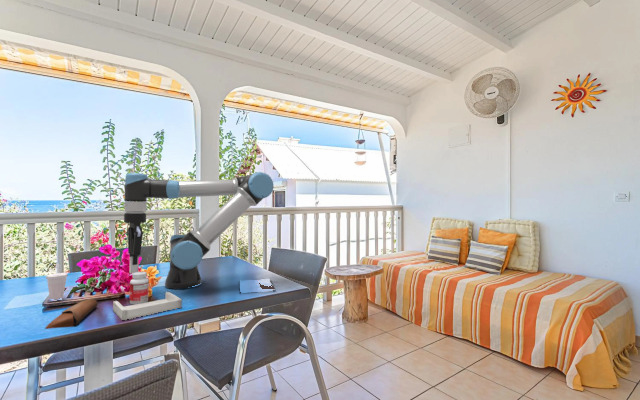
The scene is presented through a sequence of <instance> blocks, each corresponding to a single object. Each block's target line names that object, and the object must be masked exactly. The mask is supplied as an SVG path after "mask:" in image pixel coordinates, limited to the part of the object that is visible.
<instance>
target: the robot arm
mask: <svg viewBox="0 0 640 400" xmlns="http://www.w3.org/2000/svg"><path fill="white" fill-rule="evenodd" d="M124 180H125V181H124V203H123V204H122V207H124V212H125V213H124V215H123V222H124V223H126V224H129V226H128V227H127V229H126V232H127V249H128V250H127V251H128V252H127V253H128V256H129V272H128V273H129V274H133V273H135V272H139V258H140V257H139V256H141V253H142V252H141V251H142V241H143V235H144V231H142V230H143V228H142V227H141V225H142V224H141V223H143V224H144V223H146V222H147V213H146V212H147V211H148V210H147V201H148V200H147V199H148V198H149V199H163V200H165V199H166V200H167V199H169V200H170V199H171V200H172V199H178V198H180V199H181V198H199V197H200V198H201V197H216V196H217V197H218V196H219V197H221V196H222V197H223V196H232V197H231V198H229V199H228V200H227V201H226V202H225V203H223V205H221V207H219V209H217V211H215V212H214V213H213V214H212V215H211V216H210V217H209V218H207V220H205V222H203V223H202V224H201V225H200V226H199V227H198V228H196V230H189V231H188V232H187V233H185V234H173V235H171V236H170V240H169V243H170V249H169V270H168V273H167V276H166V278H165V283H164V287H165V288H166V287H167V289H169V288H173V289H172V290H180V289H179V288H187V289H189V288H188V287H192V286H195V285H198V284H200V283H201V284H202V278H201V274H200V271H199V268H198V267H199V264H200V263H201V262H202V260H203V257H204V256H206V255H207V253H208V252H209V251H211V245H212V244H213V243H214V242H215V241H216V240H217V239H219V237H220V236H221V235H222V234H223V233H224V232H225V231H226V230H228V228H230V227H231V226H232V225H233V224H234V222H236V221H237V220H238V219H239V218H240V217H241V216H242V215H243V214H244V213H245V212H246V211H247V210H249V208H251V207H256V206H257V205H258V204H259V203H261V202H262V200H263V199H266V198H268V197H269V196H270V195H271V194H272V193H273V191H274V187H275V186H274V180H273V178H272V177H271V176H270V175H269V174H267V173H266V172H261V171H257V172H254V173H252V174H249V175H244V176H237V177H236V176H235V177H233V178H232V179H206V180H174V179H152V178H151V179H150V178H149V177H148V175H147V174H146V173H138V172H136V173H135V172H129V173H127V174H126V175H125V179H124Z"/></svg>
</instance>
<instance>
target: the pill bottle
mask: <svg viewBox="0 0 640 400" xmlns="http://www.w3.org/2000/svg"><path fill="white" fill-rule="evenodd" d="M147 274H148V272H147V271H138V272H135V273H132V279H131V280H130V282H129V304H130V305H136V304H141V303H146V302H149V291H150V290H149V287H150V286H149V284H150V283H149V281H150V280H149V278H147Z"/></svg>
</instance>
